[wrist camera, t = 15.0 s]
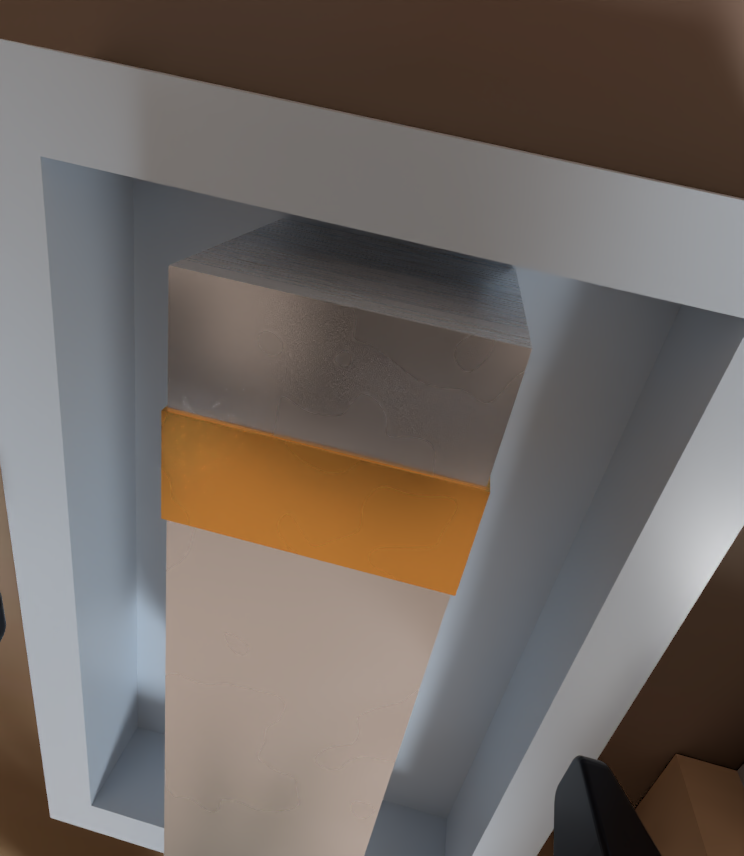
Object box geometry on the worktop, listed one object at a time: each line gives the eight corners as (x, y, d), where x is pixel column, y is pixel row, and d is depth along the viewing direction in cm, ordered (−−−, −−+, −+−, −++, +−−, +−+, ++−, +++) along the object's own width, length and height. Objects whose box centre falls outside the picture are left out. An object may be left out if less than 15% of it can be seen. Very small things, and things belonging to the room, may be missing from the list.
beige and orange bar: (379, 734, 15) (347, 915, 11) (234, 693, 15) (160, 858, 12) (519, 269, 9) (537, 351, 6) (280, 216, 9) (161, 265, 6)
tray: (478, 824, 17) (476, 951, 14) (115, 716, 18) (50, 817, 15) (790, 208, 9) (922, 239, 6) (90, 56, 10) (-62, 25, 7)
